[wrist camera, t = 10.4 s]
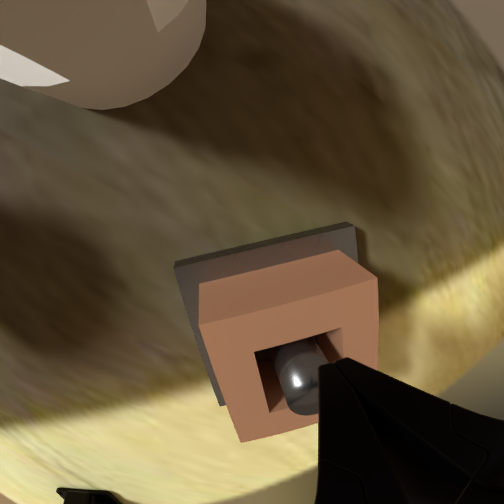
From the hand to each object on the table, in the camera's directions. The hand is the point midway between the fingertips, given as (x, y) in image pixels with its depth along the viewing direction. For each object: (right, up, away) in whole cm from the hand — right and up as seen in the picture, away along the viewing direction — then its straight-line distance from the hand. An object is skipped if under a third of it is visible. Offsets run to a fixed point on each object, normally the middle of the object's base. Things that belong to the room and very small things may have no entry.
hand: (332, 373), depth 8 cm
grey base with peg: (-1, 0, +10) cm, 10 cm away
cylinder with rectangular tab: (-9, +14, +4) cm, 17 cm away
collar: (-1, -1, +9) cm, 9 cm away
